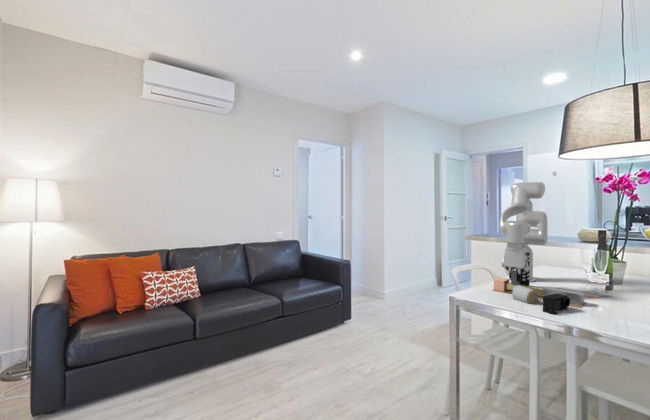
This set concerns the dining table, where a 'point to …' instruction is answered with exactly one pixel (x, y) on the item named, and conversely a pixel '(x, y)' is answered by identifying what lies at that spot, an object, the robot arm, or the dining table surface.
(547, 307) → the digital camera
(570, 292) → the metal sleeve
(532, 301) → the ceramic mug
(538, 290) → the hammer
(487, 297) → the dining table surface
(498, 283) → the terracotta socket
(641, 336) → the dining table surface
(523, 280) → the spotted tube
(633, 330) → the dining table surface
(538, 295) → the walnut board
